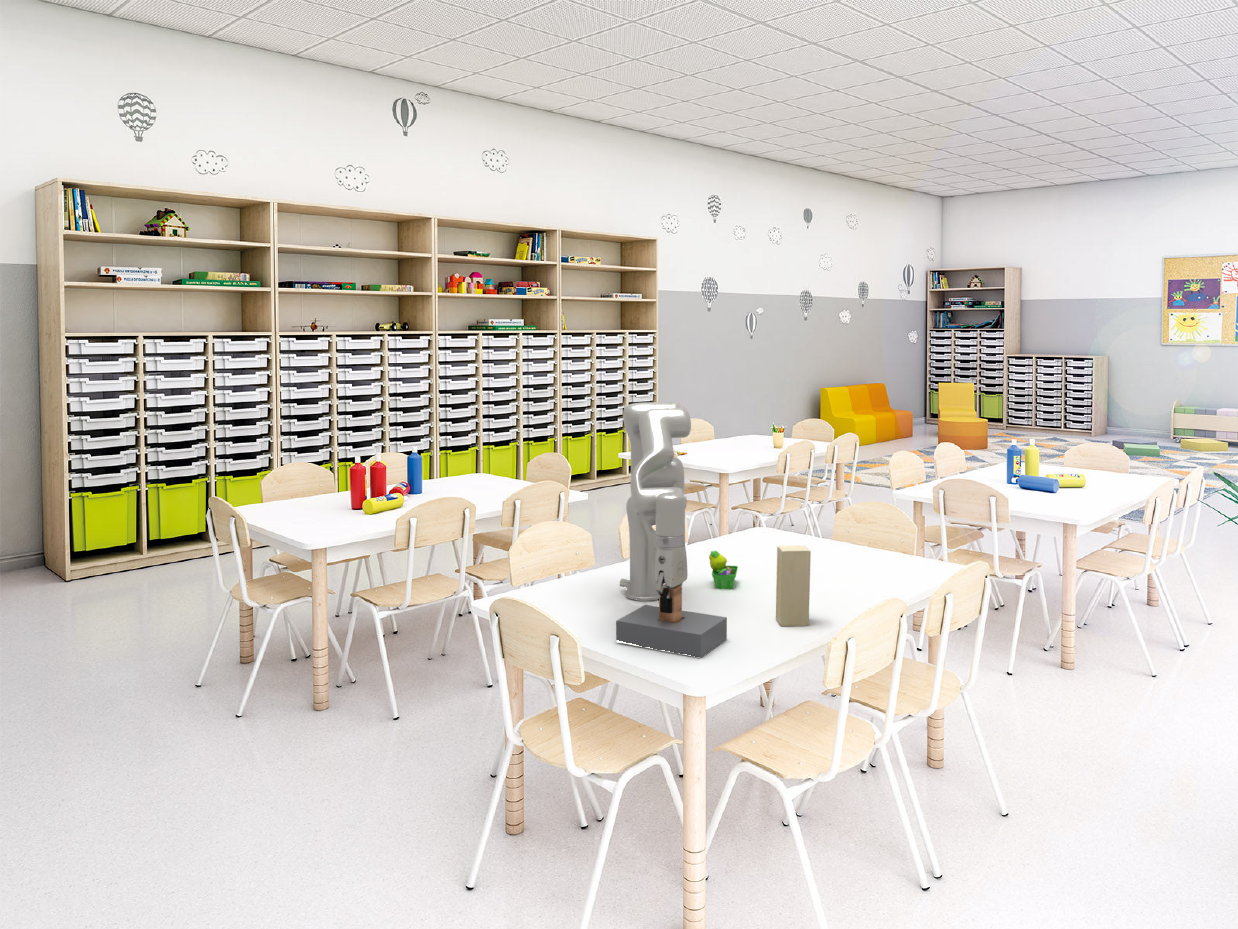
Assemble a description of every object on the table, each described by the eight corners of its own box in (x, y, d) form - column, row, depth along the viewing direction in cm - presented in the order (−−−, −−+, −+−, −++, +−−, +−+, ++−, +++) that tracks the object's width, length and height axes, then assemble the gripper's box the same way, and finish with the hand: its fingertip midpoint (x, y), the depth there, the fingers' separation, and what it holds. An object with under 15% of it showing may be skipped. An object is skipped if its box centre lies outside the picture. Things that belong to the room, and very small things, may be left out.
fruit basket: (736, 590, 285) (736, 555, 284) (707, 589, 287) (707, 554, 285) (737, 581, 297) (738, 547, 295) (710, 580, 298) (710, 546, 297)
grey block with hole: (616, 643, 238) (616, 620, 237) (645, 626, 252) (645, 604, 251) (700, 658, 226) (700, 634, 225) (726, 639, 240) (726, 617, 239)
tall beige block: (803, 617, 257) (804, 544, 254) (809, 626, 250) (810, 550, 247) (775, 618, 257) (775, 545, 254) (780, 626, 250) (781, 551, 247)
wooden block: (659, 636, 238) (658, 587, 236) (666, 631, 242) (666, 583, 240) (674, 638, 236) (674, 589, 234) (681, 633, 240) (681, 585, 238)
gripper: (668, 549, 226) (668, 621, 229) (697, 535, 241) (697, 603, 243) (641, 546, 230) (642, 616, 233) (672, 533, 244) (672, 599, 247)
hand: (670, 609), depth 238 cm, fingers closed on wooden block, 4 cm apart
